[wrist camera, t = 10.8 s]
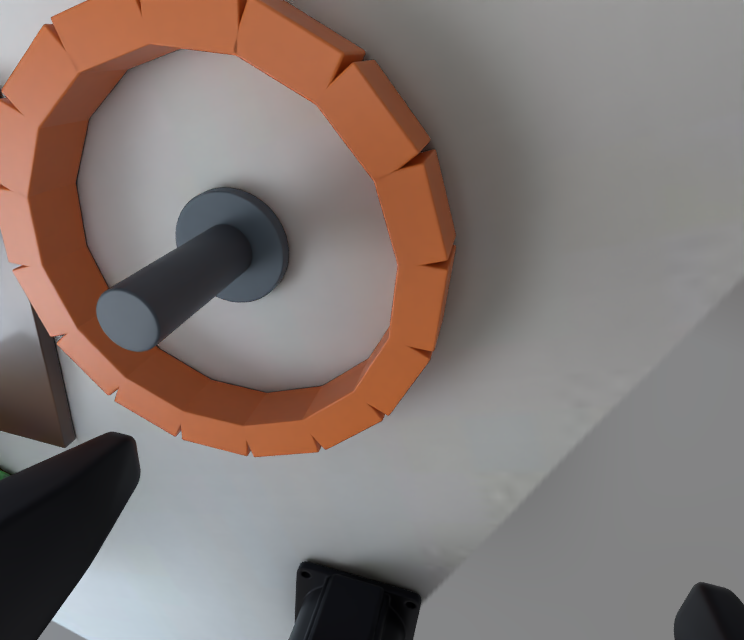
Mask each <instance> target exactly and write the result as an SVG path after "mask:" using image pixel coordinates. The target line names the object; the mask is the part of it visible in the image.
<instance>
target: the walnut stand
mask: <svg viewBox="0 0 744 640" xmlns="http://www.w3.org/2000/svg"><path fill="white" fill-rule="evenodd" d="M0 98H1V97H0ZM20 266H22V265H19V264H14V263H10V262H9V261H8V257H7V253H6V249H5V245H4V241H3V237H2V233H1V229H0V431H3V432H7V433H11V434H14V435H18V436H22V437H25V438H29V439H33V440H37V441H40V442H44V443H48V444H51V445H55V446H59V447H62V448H66V447H67V446H68V445H69V444H70V443H72V442H73V441H74V440H75V433H74V429H73V424H72V420H71V415H70V411H69V406H68V402H67V397H66V392H65V388H64V383H63V379H62V374H61V370H60V365H59V361H58V356H57V351H56V347H55V342H54V338H53V337H51V336H50V335H49V333H48V331H47V330H46V328H45V326H44V325H43V323H42V321H41V320H40V318H39V316H38V314H37V313H36V311H35V309H34V308H33V306H32V304H31V302H30V301H29V299H28V297H27V296H26V294H25V292H24V290H23V289H22V287H21V285H20V284H19V282H18V280H17V278H16V277H15V275H14V273H13V272H12V270H13V269H15V268H17V267H20Z"/></svg>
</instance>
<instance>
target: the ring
mask: <svg viewBox="0 0 744 640" xmlns="http://www.w3.org/2000/svg"><path fill="white" fill-rule="evenodd" d="M51 20H52V22H53V24H45V25H43V26H42V28H41V30H40V31H39V33H38V34H37V36H36V37H35V39H34V40H33V42H32V43H31V45H30V46H29V48H28V50H27V51H26V53H25V54H24V56H23V57H22V59H21V60H20V62H19V63H18V65H17V66H16V68H15V70H14V71H13V73H12V74H11V76H10V77H9V79H8V80H7V82H6V83H5V85H4V87H3V88H2V90H1V91H2V92H3V93H4V95H5V96H6V97H7V98H0V229H1V233H2V237H3V241H4V245H5V249H6V253H7V257H8V261H9V262H10V263H14V264H19V265H22V266H20V267H17V268H15V269H13V270H12V272H13V273H14V275H15V277H16V278H17V280H18V282H19V284H20V285H21V287H22V289H23V290H24V292H25V294H26V296H27V297H28V299H29V301H30V302H31V304H32V306H33V308H34V309H35V311H36V313H37V314H38V316H39V318H40V320H41V321H42V323H43V325H44V326H45V328H46V330H47V331H48V333H49V335H50V336H51V337H54V336H59V335H64V334H65V335H64V336H63V337H62V338H61V339H60V340H59V341H58V342H57V345H58V346H59V347H60V348H61V349H62V350H63V351H64V352H65V353H66V354H67V355H68V356H69V357H70V358H71V359H72V360H73V361H74V362H75V363H76V364H77V365H78V366H79V367H80V368H81V369H82V370H83V371H84V372H85V373H86V374H87V375H88V376H89V377H90V378H91V379H92V380H93V381H94V382H95V383H96V384H97V385H98V386H99V387H100V388H101V389H102V390H103V391H104V392H105V393H106V394H107V395H111V394H112V393H113V392H115V391H116V390H117V389H118V392H117V395H116V398H115V402H117V403H119V404H120V405H122V406H124V407H126V408H127V409H129V410H131V411H132V412H134V413H136V414H137V415H139V416H141V417H143V418H144V419H146V420H148V421H149V422H151V423H153V424H154V425H156V426H158V427H160V428H161V429H163V430H165V431H166V432H168V433H170V434H171V435H173V436H177V435H178V433H179V432H180V431H182V439H183V440H186V441H190V442H194V443H198V444H202V445H205V446H209V447H213V448H217V449H221V450H225V451H229V452H233V453H236V454H240V455H244V456H248V454H249V453H250V451H252V453H253V456H254V457H262V456H275V455H288V454H301V453H314V452H319V450H320V448H321V446H322V447H323V448H324V449H325V450H326V449H328V448H330V447H332V446H334V445H336V444H338V443H340V442H342V441H344V440H346V439H348V438H350V437H352V436H354V435H356V434H358V433H359V432H361V431H363V430H365V429H367V428H369V427H371V426H373V425H375V424H377V423H379V422H381V421H382V420H383V418H384V416H385V414H386V415H388V416H389V415H390V414H391V412H392V411H393V410H394V408H395V407H396V405H397V404H398V403H399V401H400V400H401V399H402V397H403V396H404V395H405V393H406V392H407V391H408V389H409V388H410V387H411V385H412V384H413V383H414V381H415V380H416V379H417V377H418V376H419V374H420V373H421V372H422V370H423V369H424V368H425V366H426V365H427V364H428V362H429V361H430V359H431V356H432V352H433V351H434V350H435V346H436V343H437V339H438V336H439V332H440V328H441V325H442V321H443V317H444V311H445V306H446V300H447V295H448V289H449V284H450V278H451V273H452V268H453V262H454V257H455V251H456V245H453V243H454V240H455V237H456V233H455V229H454V225H453V220H452V216H451V212H450V208H449V203H448V199H447V195H446V191H445V186H444V182H443V178H442V174H441V169H440V165H439V161H438V157H437V152H436V150H435V149H433V150H429V151H425V152H421V151H422V150H423V148H424V147H425V146H426V145H427V144H428V143H429V142H430V140H431V139H430V137H429V136H428V134H427V133H426V131H425V130H424V128H423V127H422V126H421V124H420V123H419V121H418V120H417V119H416V117H415V116H414V114H413V113H412V112H411V110H410V109H409V107H408V106H407V105H406V103H405V102H404V100H403V99H402V98H401V96H400V95H399V93H398V92H397V90H396V89H395V88H394V86H393V85H392V83H391V82H390V81H389V79H388V78H387V76H386V75H385V74H384V72H383V71H382V69H381V68H380V67H379V65H378V64H377V62H376V61H375V60H366V61H362V60H363V58H364V56H365V51H364V50H363V49H361V48H360V47H358V46H357V45H355V44H353V43H352V42H350V41H349V40H347V39H345V38H344V37H342V36H340V35H339V34H337V33H336V32H334V31H332V30H331V29H329V28H328V27H326V26H324V25H323V24H321V23H320V22H318V21H316V20H315V19H313V18H312V17H310V16H308V15H307V14H305V13H303V12H302V11H300V10H299V9H297V8H295V7H294V6H292V5H291V4H289V3H287V2H286V1H284V0H87V1H85V2H83V3H80V4H78V5H76V6H74V7H72V8H70V9H68V10H65V11H63V12H61V13H59V14H57V15H55V16H53V17H51ZM178 49H189V50H197V51H205V52H213V53H221V54H229V55H236V56H238V57H239V58H241V59H242V60H244V61H246V62H247V63H249V64H251V65H252V66H254V67H255V68H257V69H259V70H260V71H262V72H264V73H265V74H267V75H268V76H270V77H272V78H273V79H275V80H277V81H278V82H280V83H281V84H283V85H285V86H286V87H288V88H290V89H291V90H293V91H294V92H296V93H298V94H299V95H301V96H303V97H304V98H306V99H307V100H309V101H311V102H312V103H314V104H316V105H317V107H318V108H319V109H320V111H321V112H322V113H323V115H324V116H325V117H326V119H327V120H328V121H329V123H330V124H331V125H332V127H333V128H334V129H335V131H336V132H337V133H338V135H339V136H340V137H341V139H342V140H343V141H344V143H345V144H346V145H347V146H348V148H349V149H350V150H351V152H352V153H353V154H354V156H355V157H356V158H357V160H358V161H359V162H360V164H361V165H362V166H363V168H364V169H365V170H366V172H367V173H368V174H369V176H370V177H371V178H372V180H373V181H374V184H375V187H376V191H377V194H378V198H379V201H380V205H381V208H382V212H383V215H384V219H385V222H386V226H387V229H388V233H389V236H390V240H391V243H392V247H393V250H394V254H395V257H396V261H397V264H398V266H397V274H396V282H395V289H394V297H393V305H392V312H391V320H390V326H389V328H388V330H387V331H386V333H385V334H384V336H383V337H382V339H381V340H380V342H379V343H378V345H377V346H376V348H375V349H374V351H373V352H372V354H371V355H370V357H369V358H368V359H367V360H365V361H363V362H362V363H360V364H358V365H357V366H355V367H353V368H352V369H350V370H348V371H347V372H345V373H343V374H342V375H340V376H338V377H336V378H335V379H333V380H331V381H330V382H328V383H326V384H325V385H323V386H319V387H311V388H303V389H294V390H286V391H278V392H270V393H265V392H261V391H257V390H252V389H248V388H244V387H240V386H235V385H231V384H227V383H223V382H218V381H214V380H211V379H209V378H208V377H206V376H204V375H203V374H201V373H199V372H198V371H196V370H194V369H192V368H191V367H189V366H187V365H186V364H184V363H182V362H181V361H179V360H177V359H176V358H174V357H172V356H171V355H169V354H167V353H165V352H164V351H162V350H160V349H159V348H158V347H157V346H155V347H154V348H152V349H150V350H148V351H143V352H134V351H130V350H127V349H124V348H122V347H120V346H119V345H117V344H116V343H114V342H113V341H112V340H111V339H110V338H109V337H108V336H107V335H106V334H105V332H104V331H103V330H102V328H101V326H100V324H99V322H98V319H97V315H96V305H97V302H98V299H99V297H100V296H101V294H102V293H103V292H105V291H106V290H108V289H109V288H108V286H107V284H106V282H105V280H104V278H103V277H102V275H101V273H100V271H99V269H98V267H97V265H96V263H95V261H94V259H93V257H92V255H91V253H90V251H89V249H88V247H87V246H86V240H85V234H84V228H83V222H82V216H81V211H80V205H79V199H78V193H77V187H76V179H77V174H78V169H79V164H80V160H81V155H82V150H83V145H84V140H85V136H86V131H87V126H88V121H89V118H90V117H91V116H92V114H93V113H94V112H95V111H96V109H97V108H98V107H99V105H100V104H101V103H102V102H103V100H104V99H105V98H106V97H107V95H108V94H109V93H110V92H111V90H112V89H113V88H114V86H115V85H116V84H117V83H118V81H119V80H120V79H121V78H122V76H123V75H124V74H125V73H126V71H127V70H128V69H131V68H133V67H136V66H138V65H141V64H143V63H146V62H148V61H151V60H153V59H156V58H158V57H161V56H163V55H166V54H168V53H171V52H173V51H176V50H178ZM420 152H421V153H420Z"/></svg>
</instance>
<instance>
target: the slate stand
mask: <svg viewBox="0 0 744 640" xmlns="http://www.w3.org/2000/svg"><path fill="white" fill-rule="evenodd" d="M176 244H177V248H176V249H174V250H173V251H171V252H169V253H168V254H166V255H164V256H163V257H161V258H159V259H158V260H156V261H154V262H153V263H151V264H149V265H148V266H146V267H144V268H143V269H141V270H139V271H138V272H136V273H134V274H133V275H131V276H129V277H128V278H126V279H124V280H123V281H121V282H119V283H118V284H116V285H114V286H113V287H111V288H109V289H108V290H106V291H105V292H103V293H102V294H101V296H100V297H99V299H98V302H97V305H96V315H97V319H98V322H99V324H100V326H101V328H102V330H103V331H104V332H105V334H106V335H107V336H108V337H109V338H110V339H111V340H112V341H113V342H114V343H116V344H117V345H119V346H120V347H122V348H124V349H127V350H130V351H134V352H143V351H148V350H150V349H152V348H154V347H155V346H156V345H157V344H158V343H160V342H161V341H162V340H163V339H164V338H166V337H167V336H168V335H169V334H170V333H172V332H173V331H174V330H175V329H176V328H178V327H179V326H180V325H181V324H182V323H184V322H185V321H186V320H187V319H188V318H190V317H191V316H192V315H193V314H194V313H196V312H197V311H198V310H199V309H200V308H202V307H203V306H204V305H205V304H206V303H208V302H209V301H210V300H211V299H212V298H214V297H215V296H216V297H219V298H221V299H224V300H227V301H232V302H251V301H255V300H258V299H260V298H262V297H264V296H265V295H267V294H268V293H270V292H271V291H272V290H273V289H274V288H275V287H276V286H277V285H278V284H279V282H280V281H281V280H282V278H283V276H284V274H285V272H286V269H287V265H288V259H289V249H288V242H287V238H286V235H285V232H284V229H283V227H282V225H281V223H280V222H279V220H278V218H277V217H276V215H275V214H274V213H273V212H272V210H271V209H270V208H269V207H268V206H267V205H266V204H264V203H263V202H262V201H261V200H259V199H258V198H256V197H255V196H253V195H251V194H249V193H247V192H244V191H242V190H238V189H234V188H215V189H211V190H208V191H206V192H204V193H202V194H199V195H198V196H196V197H194V198H193V199H192V200H190V201H189V202H188V203H187V204H186V206H185V207H184V208H183V210H182V211H181V213H180V216H179V218H178V222H177V225H176Z"/></svg>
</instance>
